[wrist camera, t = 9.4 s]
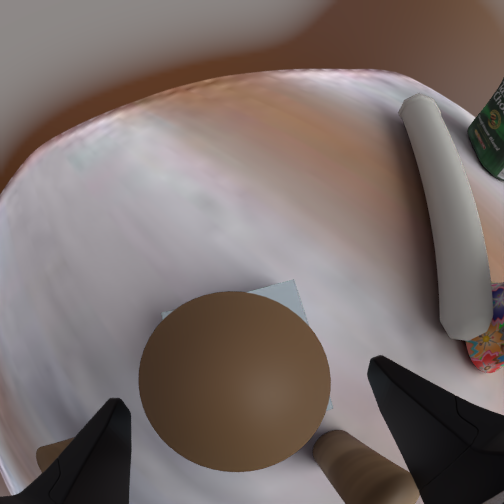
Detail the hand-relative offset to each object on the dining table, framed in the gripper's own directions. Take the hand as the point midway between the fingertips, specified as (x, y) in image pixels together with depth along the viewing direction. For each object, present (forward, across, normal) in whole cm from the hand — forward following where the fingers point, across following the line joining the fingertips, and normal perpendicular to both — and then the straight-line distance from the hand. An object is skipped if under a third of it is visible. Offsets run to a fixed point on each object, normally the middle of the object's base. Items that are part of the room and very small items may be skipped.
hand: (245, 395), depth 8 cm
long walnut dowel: (+7, 0, +6) cm, 9 cm away
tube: (+13, -20, -1) cm, 24 cm away
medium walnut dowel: (+2, -5, +11) cm, 12 cm away
